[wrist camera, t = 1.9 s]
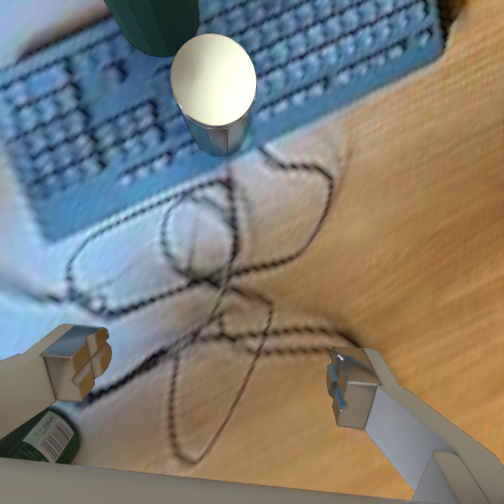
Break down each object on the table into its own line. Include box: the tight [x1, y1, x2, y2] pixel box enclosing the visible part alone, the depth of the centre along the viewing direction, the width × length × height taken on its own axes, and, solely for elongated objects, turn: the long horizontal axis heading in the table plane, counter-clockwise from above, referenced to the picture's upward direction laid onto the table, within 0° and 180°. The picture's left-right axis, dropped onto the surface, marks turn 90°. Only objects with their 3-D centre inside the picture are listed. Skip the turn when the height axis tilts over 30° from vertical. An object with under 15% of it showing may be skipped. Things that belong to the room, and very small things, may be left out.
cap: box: [170, 33, 257, 156], centre depth 21 cm, size 6×6×9 cm
